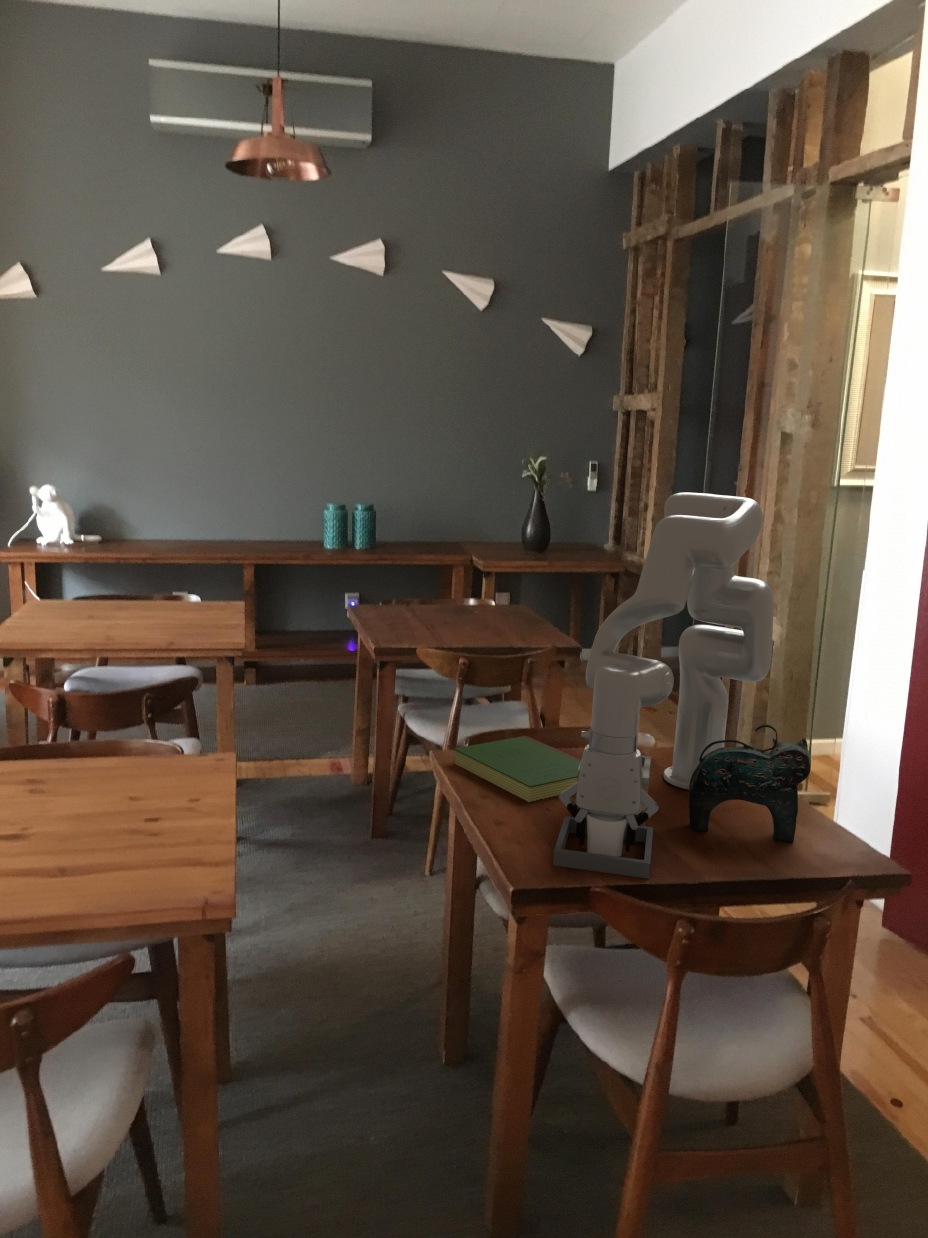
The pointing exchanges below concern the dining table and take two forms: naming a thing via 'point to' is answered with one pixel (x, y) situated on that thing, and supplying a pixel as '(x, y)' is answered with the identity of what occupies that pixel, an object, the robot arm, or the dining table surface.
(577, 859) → the dark grey square frame
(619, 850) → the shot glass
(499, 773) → the hardcover book
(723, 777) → the ceramic cat
